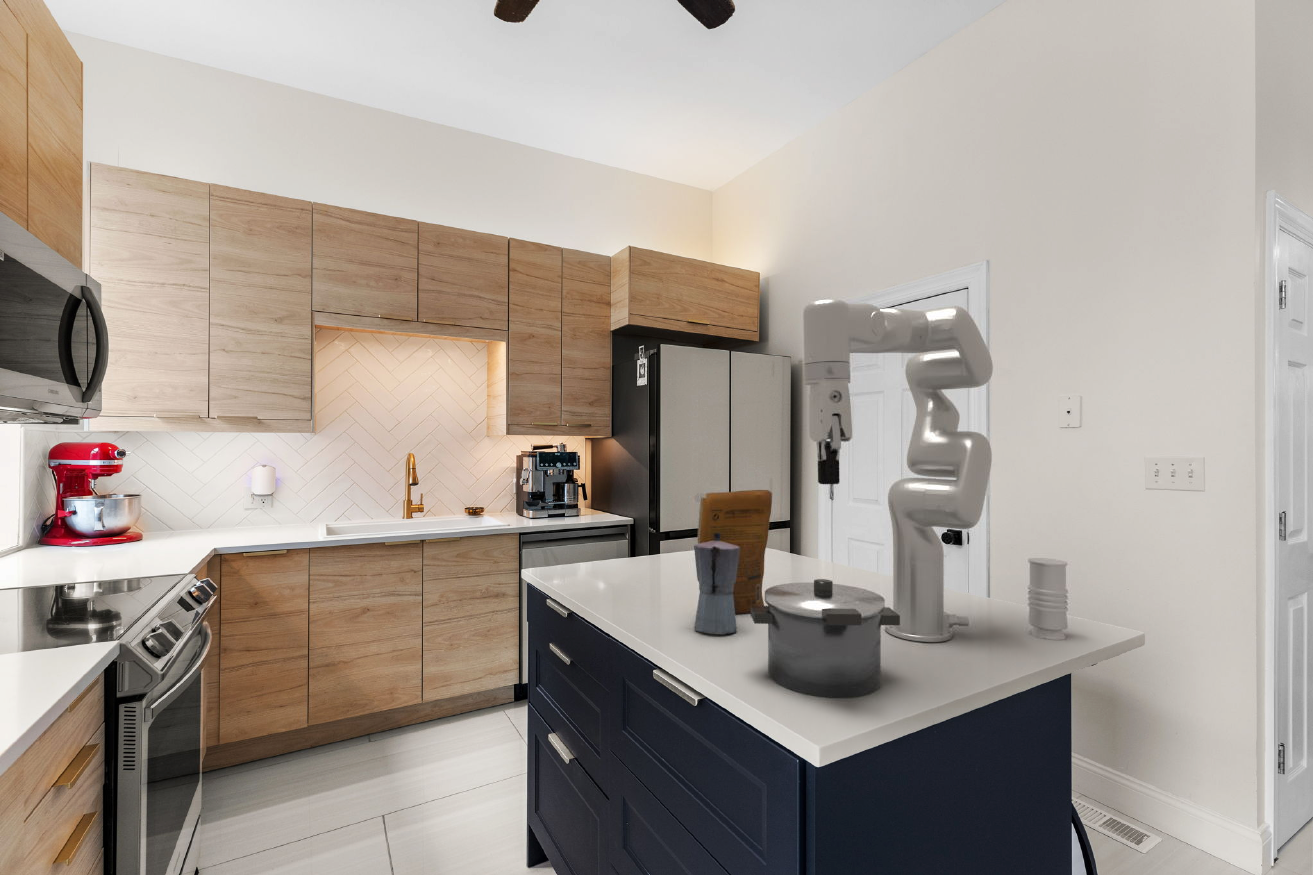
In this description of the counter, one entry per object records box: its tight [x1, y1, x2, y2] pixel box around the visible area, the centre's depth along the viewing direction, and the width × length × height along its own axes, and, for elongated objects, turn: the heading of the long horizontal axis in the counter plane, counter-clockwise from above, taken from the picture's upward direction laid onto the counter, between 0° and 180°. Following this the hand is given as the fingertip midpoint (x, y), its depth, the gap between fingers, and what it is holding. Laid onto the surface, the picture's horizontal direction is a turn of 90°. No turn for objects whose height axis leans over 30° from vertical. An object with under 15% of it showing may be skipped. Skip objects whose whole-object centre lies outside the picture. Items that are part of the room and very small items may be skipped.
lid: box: [764, 578, 886, 625], centre depth 101 cm, size 22×19×4 cm
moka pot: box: [693, 533, 740, 635], centre depth 127 cm, size 10×15×20 cm, turn 174°
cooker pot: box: [750, 604, 900, 699], centre depth 103 cm, size 23×20×12 cm
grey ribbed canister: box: [1027, 557, 1069, 641], centre depth 125 cm, size 7×7×15 cm
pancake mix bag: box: [697, 489, 773, 615], centre depth 141 cm, size 7×19×28 cm, turn 107°
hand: (828, 483), depth 104 cm, fingers closed
